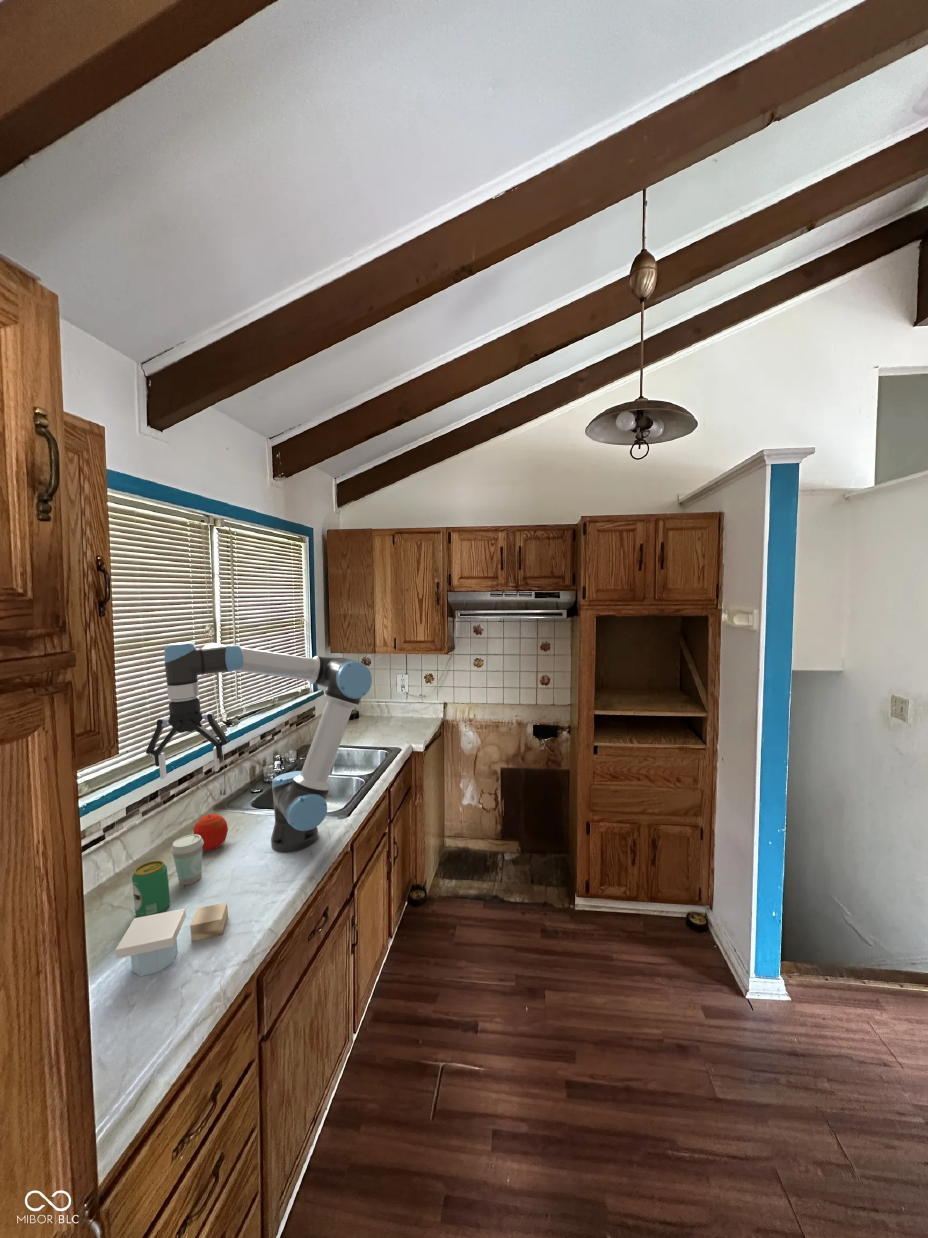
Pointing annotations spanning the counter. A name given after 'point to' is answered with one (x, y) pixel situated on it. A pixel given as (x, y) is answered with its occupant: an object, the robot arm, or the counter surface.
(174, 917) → the ceramic tile
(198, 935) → the cork block
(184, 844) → the coffee cup
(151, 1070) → the counter surface
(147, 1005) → the counter surface
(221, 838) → the apple
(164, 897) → the beverage can
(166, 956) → the bowl
